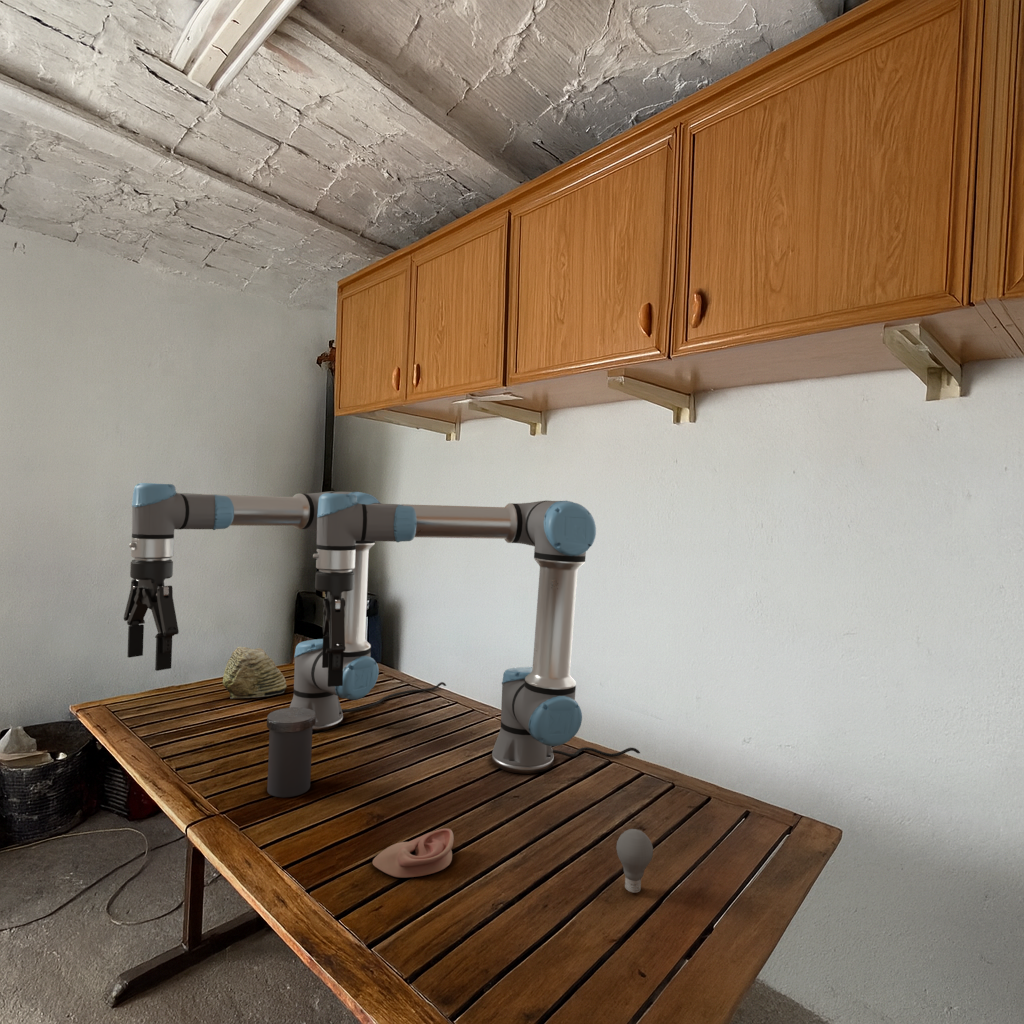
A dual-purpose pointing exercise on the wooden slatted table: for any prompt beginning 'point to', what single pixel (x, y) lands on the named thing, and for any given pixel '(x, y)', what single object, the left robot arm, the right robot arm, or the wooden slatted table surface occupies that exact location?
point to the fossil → (252, 674)
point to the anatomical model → (417, 855)
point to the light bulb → (634, 857)
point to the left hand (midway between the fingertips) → (148, 662)
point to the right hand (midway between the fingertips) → (331, 676)
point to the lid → (291, 719)
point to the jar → (289, 763)
